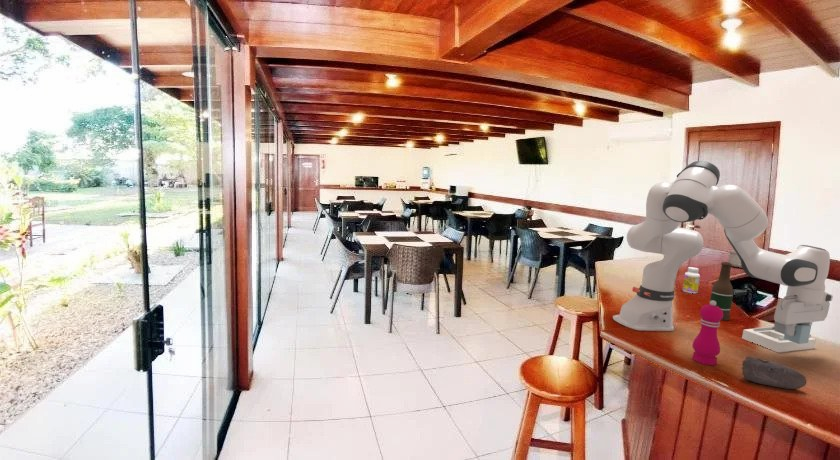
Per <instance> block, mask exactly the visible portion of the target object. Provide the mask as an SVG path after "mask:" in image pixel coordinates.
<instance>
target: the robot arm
mask: <svg viewBox="0 0 840 460" xmlns="http://www.w3.org/2000/svg"><path fill="white" fill-rule="evenodd" d="M720 176H721V173H720V169H719V167H717V166H716V165H715V164H713V163H711V162H709V161H704V160H696V161H693V162H691V163H689V164H688V165H687V166H686V167H684V168H683V169H682V170H681V171H680V172H679V173H678V174H677V175H676V179H675V180H674V181H672V182H667V181H665V182H664V181H663V182H658V183H656V184H654V185H653V186H651V187H650V189H649V190H648V194H647V197H646V203H645V220H643V221H642V222H640V223H638V224H634V225H632V226H631V227H630V228H629V230H628V231H627V233H626V241H627V244H628V246H629V248H631V249H632V250H633V249H634V250H635V251H636V250H638V251H640V252H645V253H652V254H660V255H663V258H661V259H660V260H656V261H653V262H649V263H647V264H646V265H645V266H644V268H643V271H642V272H643V273H642V278H641V285H639V287H636V286H633V287H632V288H631V291H632V292H633V293H636V294H635V295H634V296H633V297H632V298H630V299H628V301H625V303H623V304H622V305H621V307H620V311H619V314H615V315H612V319H613V320H614V321H615V322H616V323H618V324H620V325H623V326H625V327H626V328H629V329H632V330H636V331H646V332H647V331H648V332H649V331H654V332H655V331H657V332H661V331H662V332H664V331H665V332H668V331H669V332H674V331H675V327H674V308H673V307H674V306H673V301H674V300H675V299H674V297H675V290H674V288H675V283H676V278H677V275H678V271H679V270H680V268H681V267H682V265H683V264H685V262H686V261H688V260H689V259H692V258H693V257H695V256H697V255H699V254H700V253H701V252H702V250H703V249H704V244H705V243H704V238H703V235H702V234H701V233H700V232H699V231H696V230H693V229H689V228H685V227H680V226H681V223H690V222H694V221H696V220H700V221H701V220H704V219H705V218H706V217H708V215H712V216H713V217H714V218H715V219H716V221H718V223H719V224H720V225H721V227H723V231H724V236H725V237H726V239H727V241H728V242H729V244H730V245H731V247H732V249H733V251H735V252H736V253H737V255H738V256H739V258H740V261H741V264H742V268H743V269H742V270H743V272H744V273H745V274H746V275H747V276H749V277H751V278H756V279H760V280H765V281H768V282H771V283H774V284H778V285H783V286H786V287H787V288H786V294H785V296H783V298H782V299H780V300H779V301H778V303H777V305H776V308H775V312H774V314H773V319H774V322H775V321H776V322H778V323H781V324H784V325H786V328H787V335H790V336H795V335H796V331H795V328H794V326H796V324H798V323H805V324H808V325H811V326H813V323H816V322H823V321H825V320H826V319H827V317H828V315H829V309H830V305H831V304H830V302H831V301H833V297H834V296H833V294H830V293H828V292H826V283H825V282H826V279H827V278H828V276H829V271H830V265H831V264H830V263H831V257H830V252H829V251H828V250H827V249H825V248H821V247H817V246H812V245H808V244H800V245H798V246H797V247H796V249H795V250H793V251H792V252H790V253H786V254H783V253H778V252H774V251H770V250H766V249H763V248H761V247H759V246H758V245H757V243H756V242H755V241H754V239H756V238H758V237H760V236H761V235H762V234H763V233H764V232H765V231H766V229H767V228H768V225H769V218H768V215H767V213H766V211H765V210H763V208H762V207H761V206H760V204H759V203H758V202H757V201H756V200H755V199H754V198H753V197H752V196H751V195H750V194H749V193H748V192H747V191H746V190H744V189H743V188H741V187H740V186H739V185H736V184H733V183H732V184H724V185H720V186H717V185H718V184H719V181H720V178H721V177H720Z"/></svg>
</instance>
